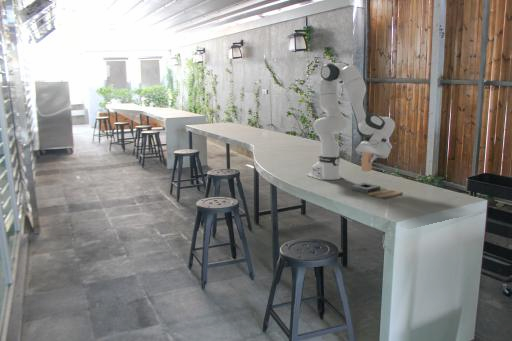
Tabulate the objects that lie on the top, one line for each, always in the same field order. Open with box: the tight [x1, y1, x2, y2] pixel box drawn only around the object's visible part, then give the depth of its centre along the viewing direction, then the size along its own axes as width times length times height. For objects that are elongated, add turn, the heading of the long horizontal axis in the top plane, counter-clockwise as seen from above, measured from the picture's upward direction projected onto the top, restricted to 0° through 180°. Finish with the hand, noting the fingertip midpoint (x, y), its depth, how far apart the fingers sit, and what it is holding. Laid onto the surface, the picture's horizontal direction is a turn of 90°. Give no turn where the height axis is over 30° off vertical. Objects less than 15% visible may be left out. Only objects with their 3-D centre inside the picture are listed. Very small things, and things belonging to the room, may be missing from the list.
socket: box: [350, 182, 381, 195], centre depth 261 cm, size 11×11×2 cm
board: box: [367, 188, 403, 200], centre depth 252 cm, size 11×16×1 cm
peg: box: [360, 152, 373, 172], centre depth 258 cm, size 4×4×10 cm
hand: (366, 161), depth 258 cm, fingers closed on peg, 4 cm apart
